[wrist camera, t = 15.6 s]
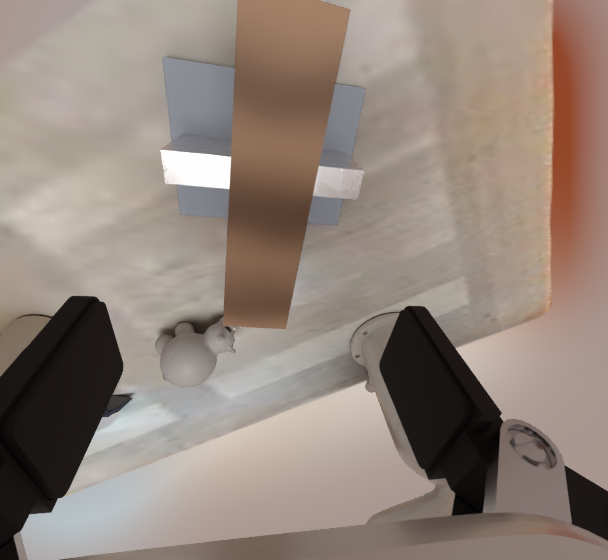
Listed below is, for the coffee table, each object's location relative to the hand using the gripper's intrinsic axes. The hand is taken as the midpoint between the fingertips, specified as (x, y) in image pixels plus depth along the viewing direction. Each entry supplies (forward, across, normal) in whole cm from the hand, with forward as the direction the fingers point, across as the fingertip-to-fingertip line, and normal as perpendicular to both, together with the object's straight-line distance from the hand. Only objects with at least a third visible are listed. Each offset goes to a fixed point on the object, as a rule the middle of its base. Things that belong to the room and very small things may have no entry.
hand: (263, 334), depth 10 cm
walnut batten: (+18, 0, 0) cm, 18 cm away
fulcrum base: (+27, 0, 0) cm, 27 cm away
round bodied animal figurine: (+27, +7, +25) cm, 38 cm away
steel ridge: (+25, 0, 0) cm, 25 cm away
